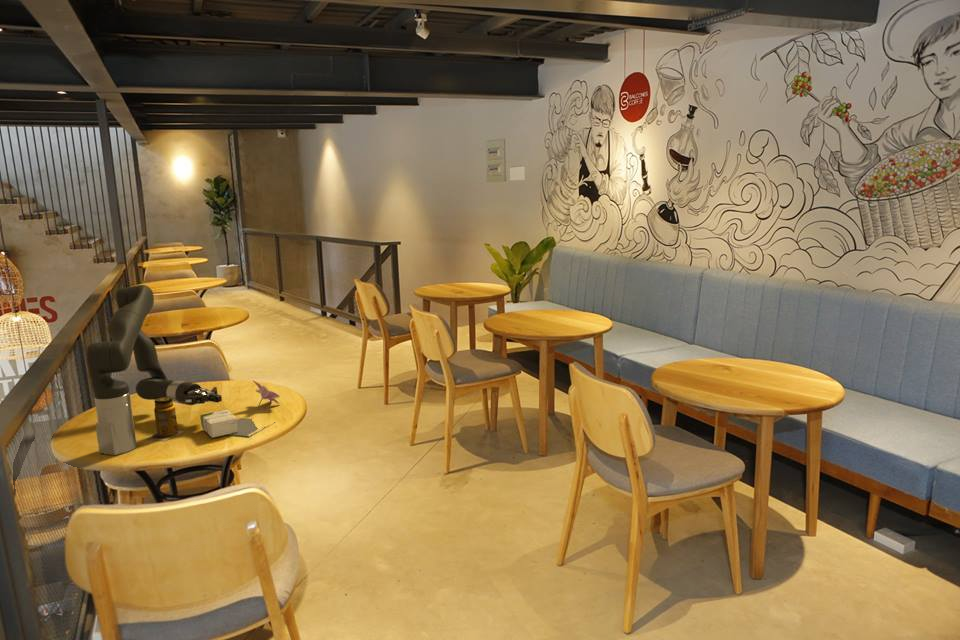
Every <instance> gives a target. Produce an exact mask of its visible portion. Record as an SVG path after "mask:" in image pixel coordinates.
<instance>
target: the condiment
mask: <svg viewBox="0 0 960 640" xmlns="http://www.w3.org/2000/svg"><path fill="white" fill-rule="evenodd" d="M153 401H154V409H153V411H154V420H155V426H156V434H153V435H150V436H148V437H147V438H146V439H147V440H150V441H151V440H152V441H165V442H166V441H168V440H170V439H172V438H174V437H176V436H178V435H180V434H182V433H184V432H185V431H184V430H179V429H178V422H177V414H176V413H177V412H176V406H175V405H174V402H173V399H172V397H161V398H158V399H156V400H153Z"/></svg>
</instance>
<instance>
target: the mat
mask: <svg viewBox="0 0 960 640" xmlns="http://www.w3.org/2000/svg"><path fill="white" fill-rule="evenodd" d="M252 419H253V418H247V417H239V418H237V420H238V429H239V431H238V432H236V433H231V434H227V435H226V436H232V437H233V436H234V437H241V438H242V437H243V438H251V437H252V435H253V434H254V435H256V434H257V433H256V432H257V431H259V430H260V429H258V428H257V427H256V426H255V424H254V422H253V421H252ZM265 427H266V426H265ZM262 428H263V427H262ZM257 429H258V430H257ZM255 433H256V434H255ZM254 435H253V436H254ZM250 436H251V437H250Z"/></svg>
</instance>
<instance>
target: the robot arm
mask: <svg viewBox="0 0 960 640" xmlns="http://www.w3.org/2000/svg"><path fill="white" fill-rule="evenodd" d="M115 301H116V305H117V308H118V309H117V310H116V311H115V312H114V313H113V315H112V316H111V318H110V319H109V322H108V324H107V330H106V331H107V333H108V335H109V338H111V341H102V342H101V341H100V342H99V341H98V342H93V343H89V344H88V346H87V348H86V353H85V356H86V363H87V367H88V372H89V378H90V383H91V389H92V392H93V398H94V403H95V404H94V405H95V411H96V417H97V418H96V419H97V422H96V423H95V434H96V439H97V445H98V451H99V454H100V453H104V454H103V455H108V454H109V456H117V455H121V454H124V453H128V452H131V451H132V450H134V449H136V448H137V446H138V443H137V436H136V431H135V430H136V429H135V421H134V417H133V414H134V413H133V409H132V408H133V407H132V402H131V401H132V400H131V394H130V392H131V391H130V387H129V383H127V382H126V381H123V380H119V379H115V378H113V377H110V376H109V375H107V374H111V373H113V374H114V373H120V372H124V371H126V370H127V369H128V368H129V366H130V363H131V360H132V355H134V360H135V365H136V369H137V371H138V372H143V373H148V374H149V375H150V377H147V378H143V379H140V380H139V381H138V382H137V383H136V385H135V393H136V394H137V396H138V397H140V398H141V399H143V400H151V401H155V400H156V399H158V398H161V397H172V399H173V403H175V404H181V405H186V406H194V405H200V404H205V403H212V402H213V403H220V402H222V401H223V399H222V398H223V397H222V395H221V394H218V387H216V386H214V387H212V388H211V389H208V388H203V387H201V385H200V384H199V383H196V382H191V381H190V382H189V381H183V380H171V379H168V377H167V375H166V374H165V371H164V370H163V369H162V366H161V364H160V361H159V357H158V353H157V349H156V346H155V343H154V341H153V340H152V339H151V338H150V337H149V336H148V335H147V334H146V333H145V332H144V331H143V330H142V328H143V325H144V321H145V320H146V318H147V315H149V313H150V312H151V310H152V308H153V306H154V301H155V297H154V293H153V290H152V288H150V286H148V285H146V284H138V285H132V286H128V287H122V288H119V289H117V291H116V293H115ZM112 340H113V341H112Z"/></svg>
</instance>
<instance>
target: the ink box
mask: <svg viewBox="0 0 960 640" xmlns="http://www.w3.org/2000/svg"><path fill="white" fill-rule="evenodd" d="M200 423H201V428H202V430H204V431H205V432H206V433H207V434H208V435H209V436H210V438H217V437H221V436H222V437H223V436H228V435H227V434H231V433H236V432H238V431H239V429H238V418H237V416H235V415H234V414H233V413H232V412H230V411H229V410H228V409H221V410H218V411H214V412H213V411H212V412H209V413H204V414H200Z"/></svg>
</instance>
